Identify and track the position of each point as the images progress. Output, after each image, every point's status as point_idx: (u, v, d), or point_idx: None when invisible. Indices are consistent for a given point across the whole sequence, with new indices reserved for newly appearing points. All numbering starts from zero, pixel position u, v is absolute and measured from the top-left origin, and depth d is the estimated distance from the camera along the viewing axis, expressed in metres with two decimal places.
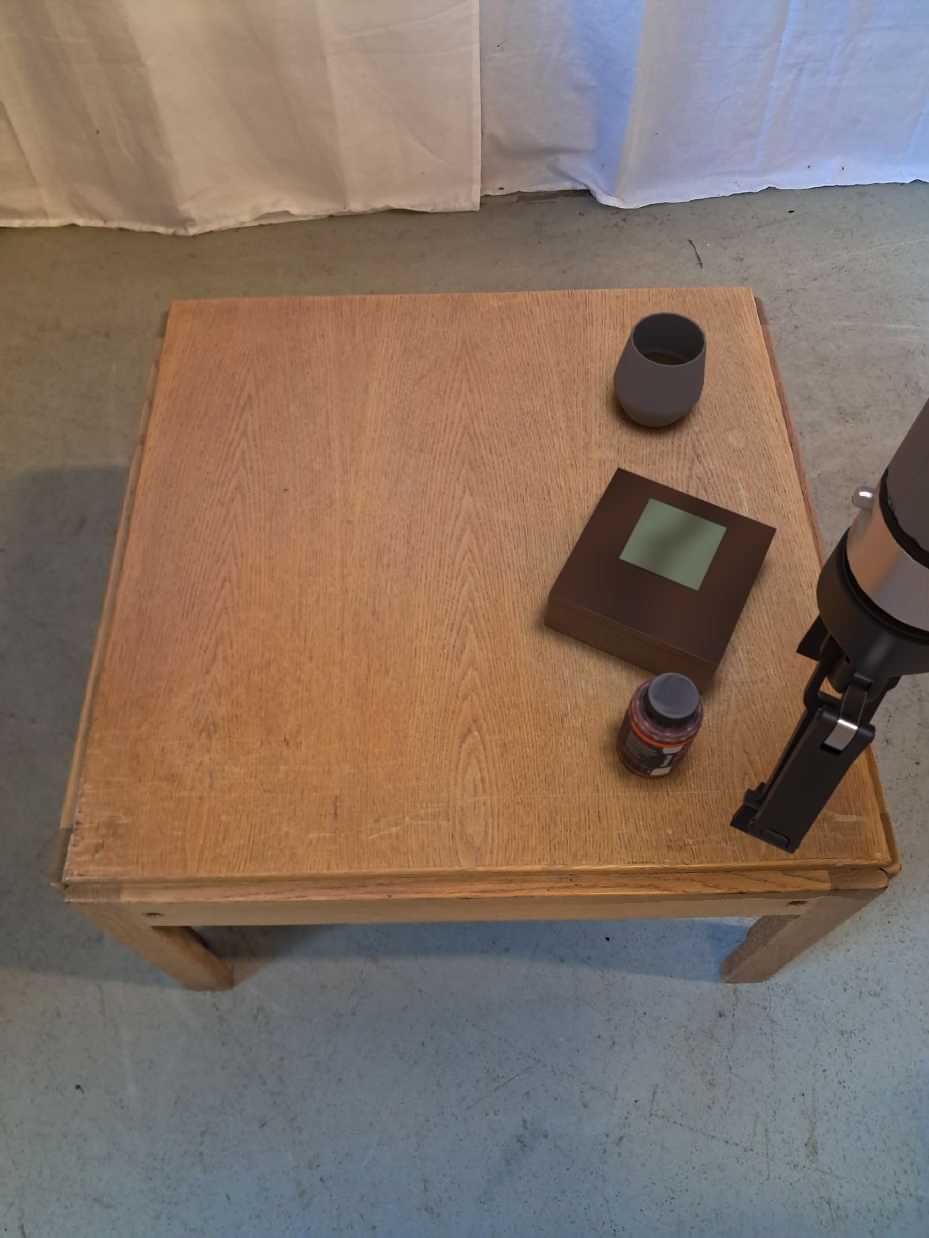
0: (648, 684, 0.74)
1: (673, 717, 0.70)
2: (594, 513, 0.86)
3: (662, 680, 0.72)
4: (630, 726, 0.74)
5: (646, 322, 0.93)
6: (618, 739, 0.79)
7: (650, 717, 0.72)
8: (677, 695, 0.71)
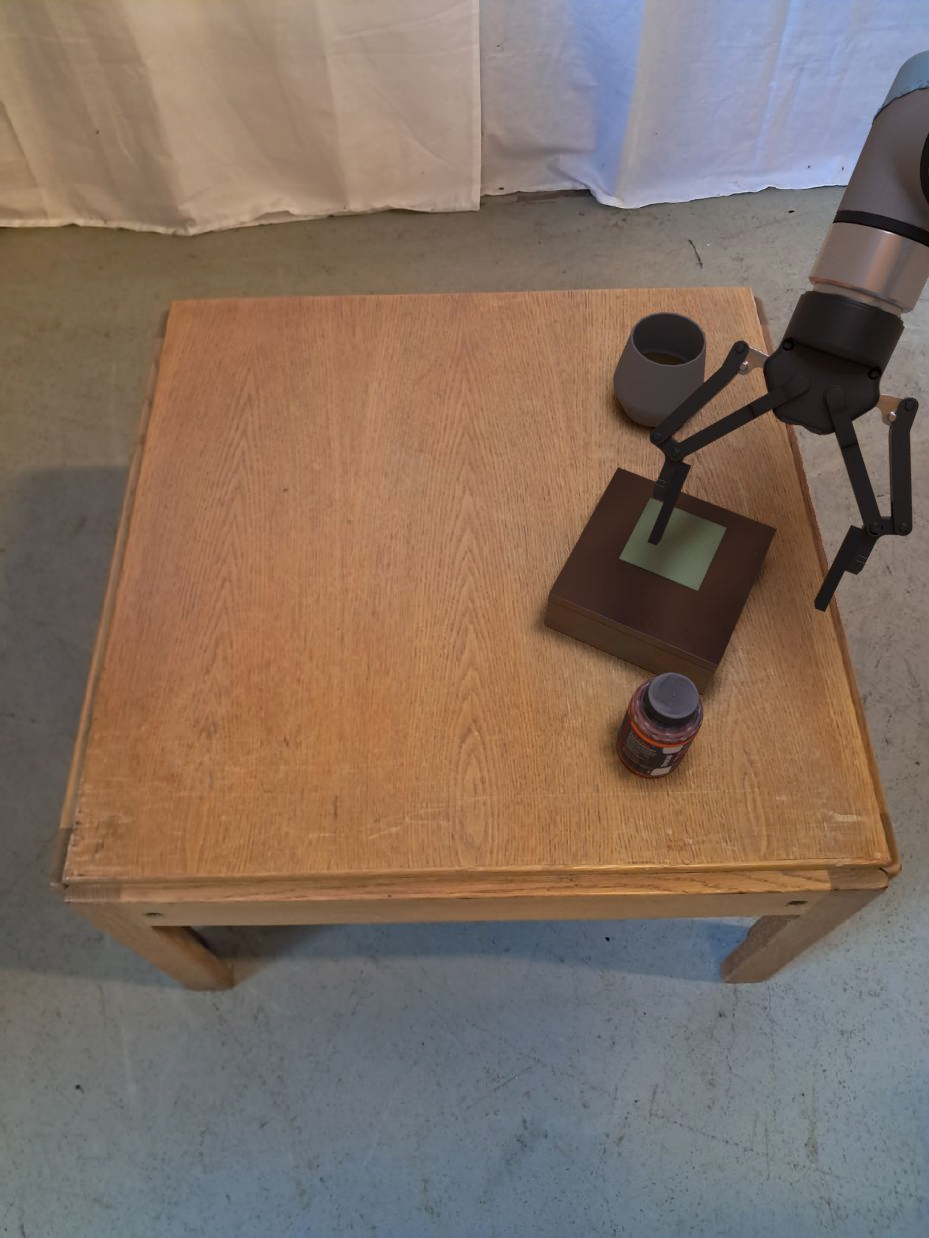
0: (648, 684, 0.74)
1: (673, 717, 0.70)
2: (594, 513, 0.86)
3: (662, 680, 0.72)
4: (630, 726, 0.74)
5: (646, 322, 0.93)
6: (618, 739, 0.79)
7: (650, 717, 0.72)
8: (677, 695, 0.71)
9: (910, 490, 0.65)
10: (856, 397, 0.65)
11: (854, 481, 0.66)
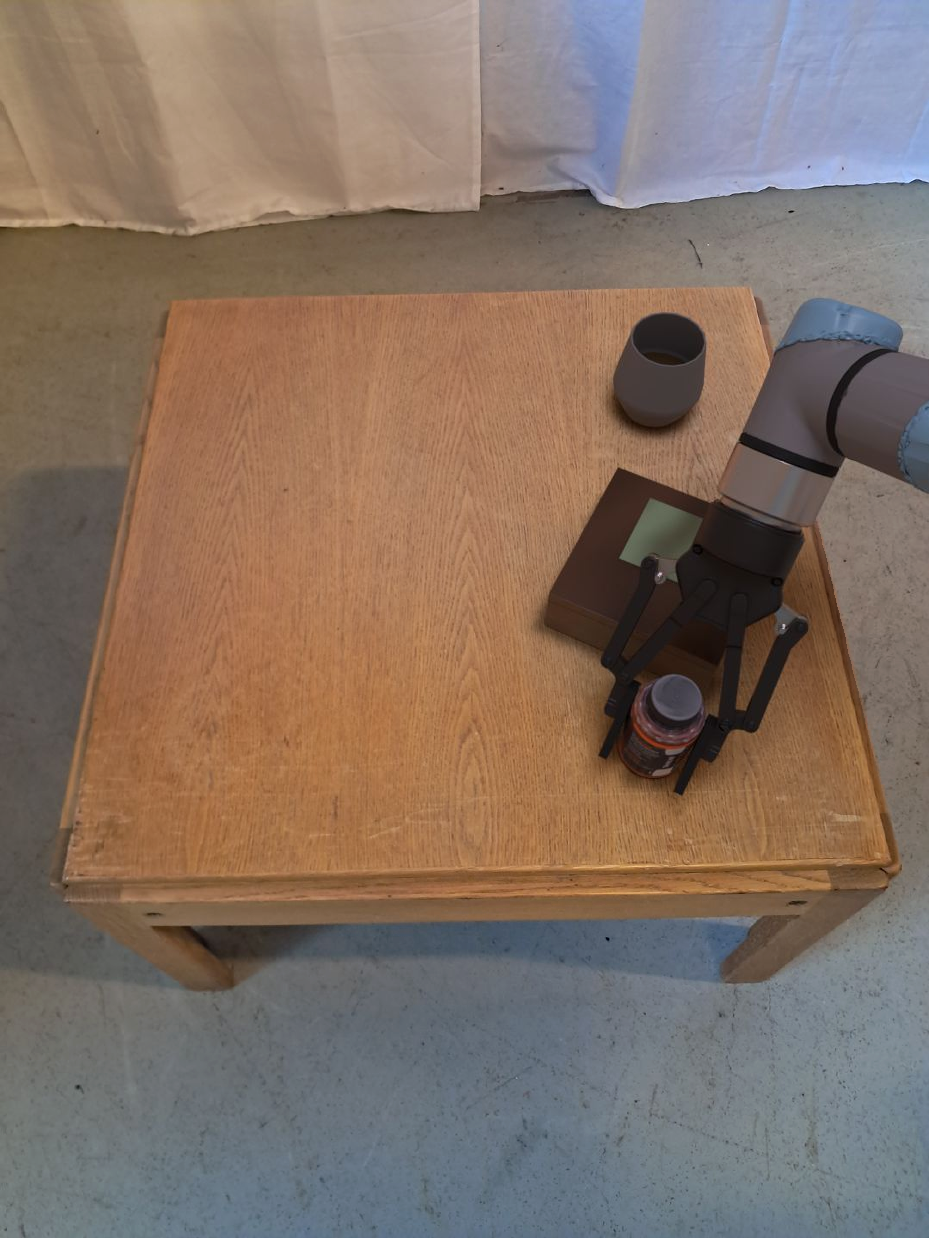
0: (651, 685, 0.74)
1: (676, 719, 0.70)
2: (594, 513, 0.86)
3: (665, 682, 0.71)
4: (632, 727, 0.74)
5: (646, 322, 0.93)
6: (619, 740, 0.79)
7: (653, 719, 0.72)
8: (680, 697, 0.71)
9: (769, 697, 0.70)
10: (760, 599, 0.69)
11: (725, 677, 0.71)
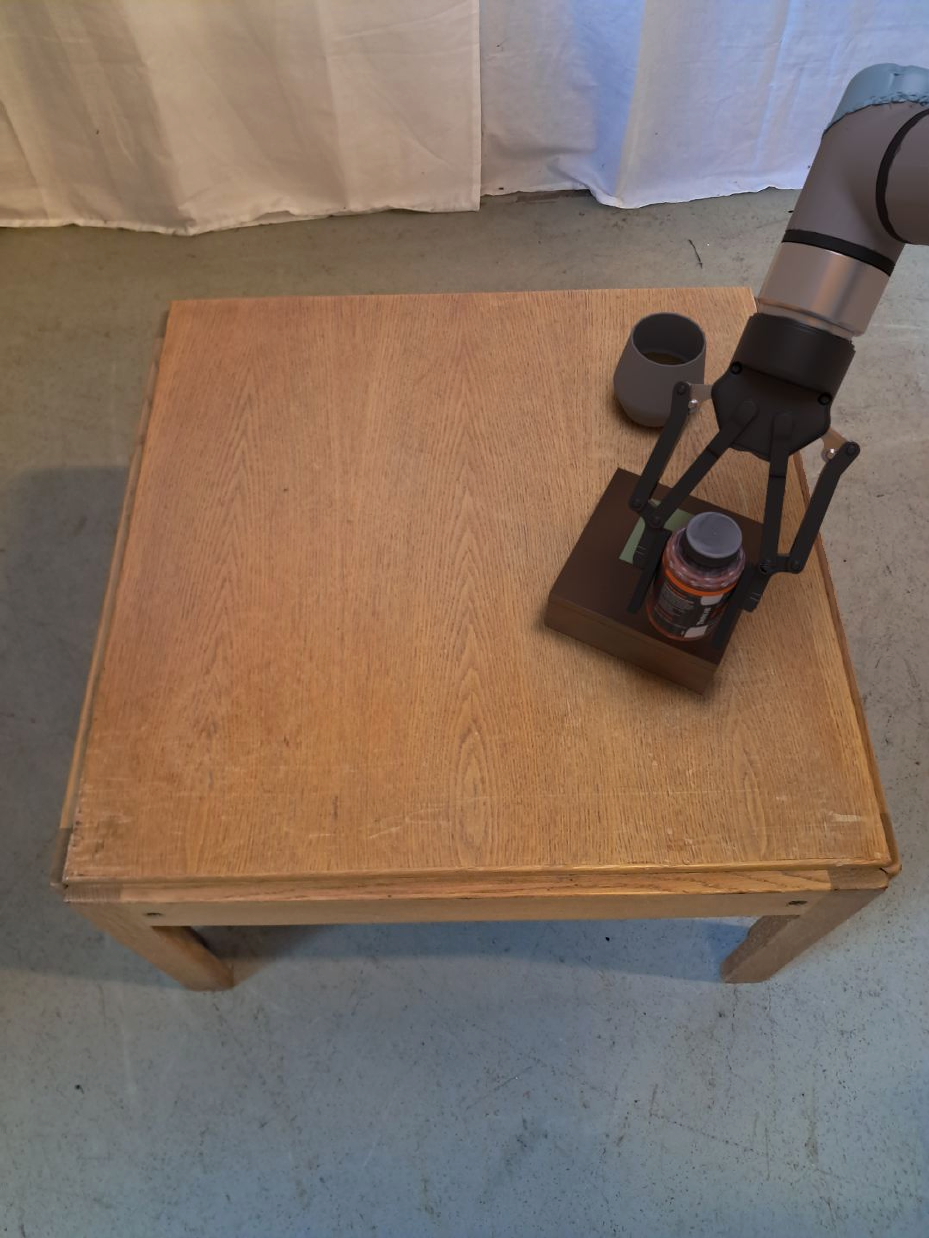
0: (684, 529, 0.67)
1: (714, 556, 0.64)
2: (594, 513, 0.86)
3: (701, 519, 0.65)
4: (664, 576, 0.68)
5: (646, 322, 0.93)
6: (648, 600, 0.73)
7: (688, 561, 0.65)
8: (718, 535, 0.64)
9: (817, 532, 0.64)
10: (806, 421, 0.63)
11: (767, 512, 0.65)
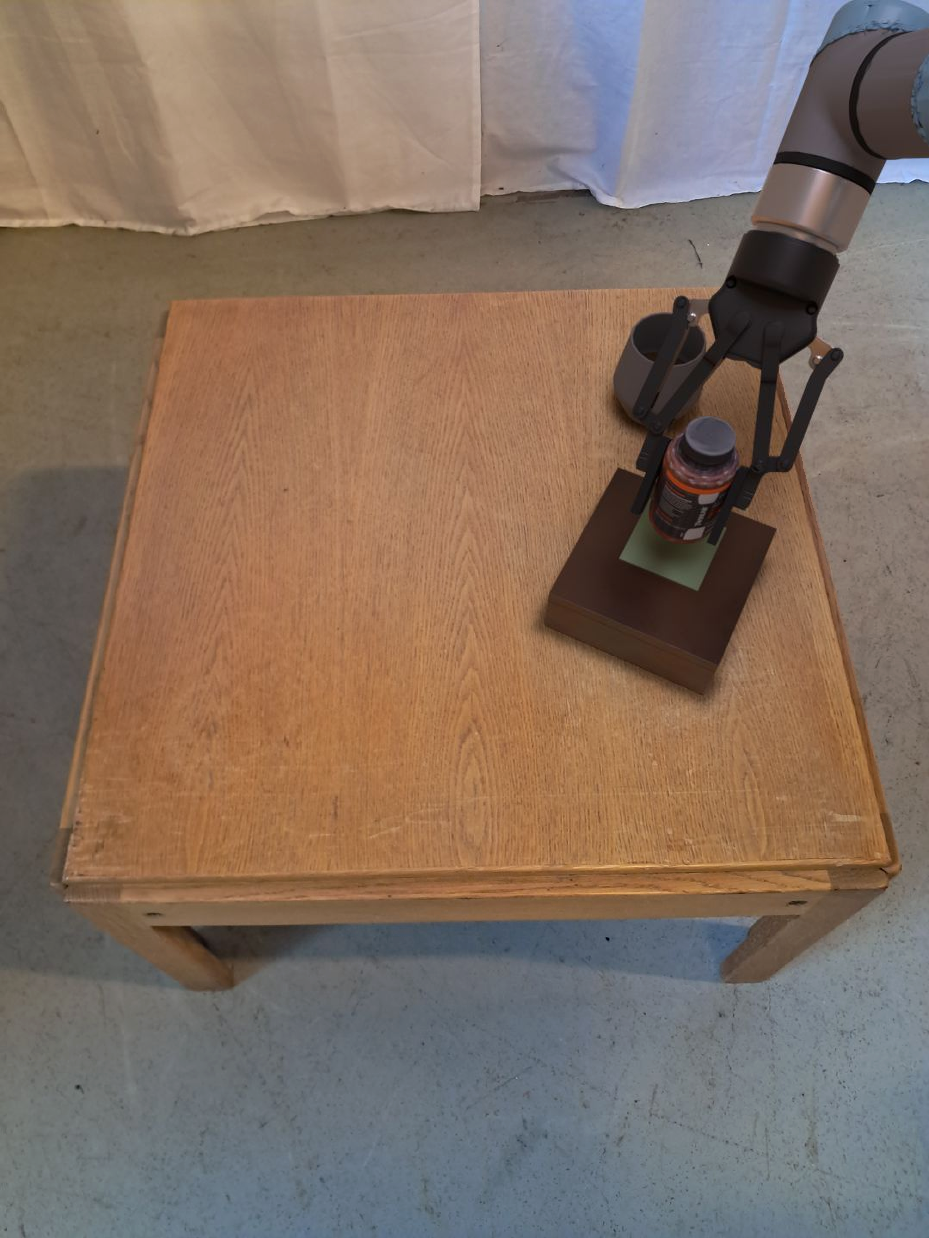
0: (683, 434, 0.73)
1: (710, 454, 0.70)
2: (594, 513, 0.86)
3: (699, 422, 0.71)
4: (665, 478, 0.74)
5: (646, 322, 0.93)
6: (650, 507, 0.79)
7: (687, 460, 0.71)
8: (714, 436, 0.70)
9: (804, 433, 0.70)
10: (795, 330, 0.69)
11: (759, 416, 0.71)
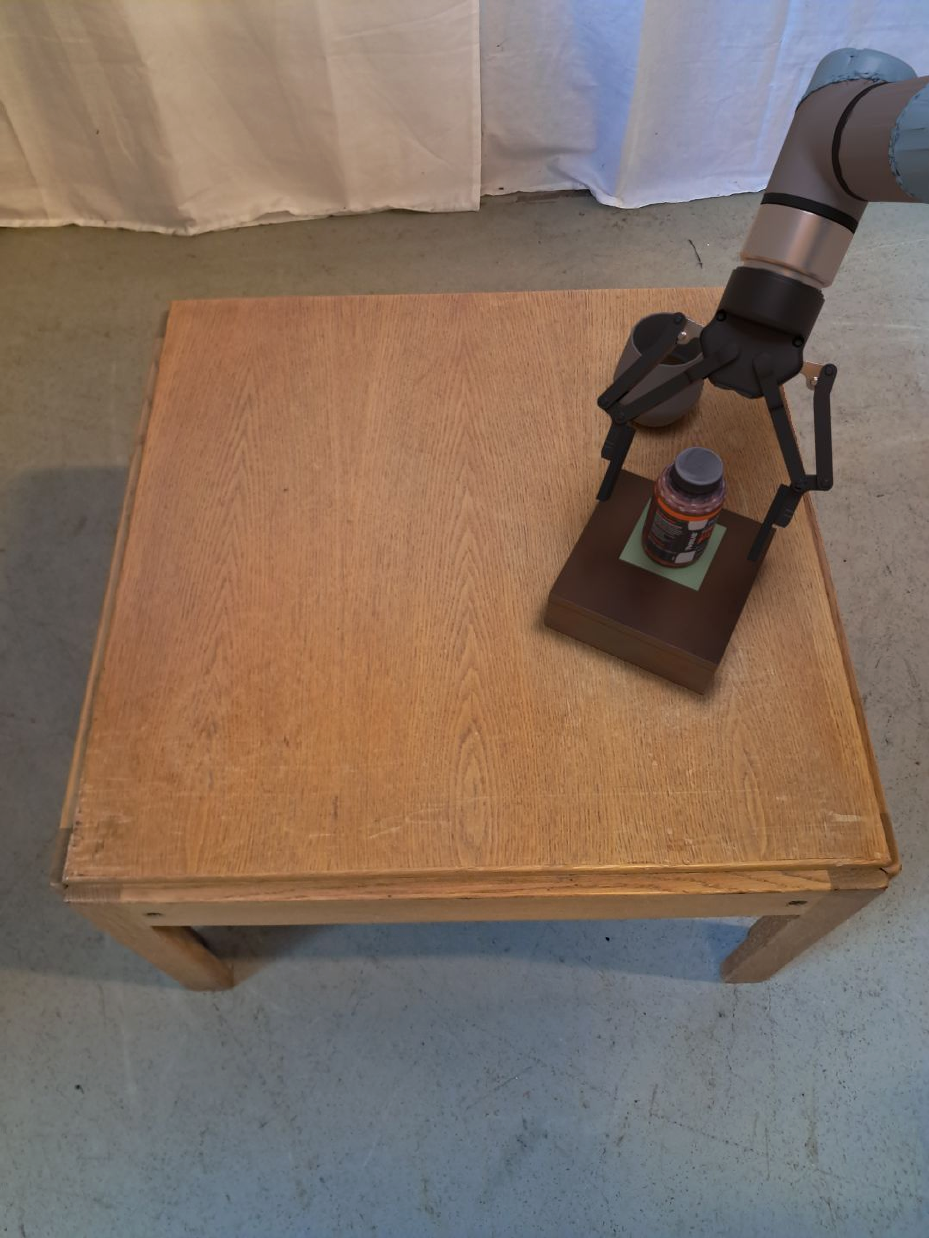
0: (673, 463, 0.77)
1: (699, 484, 0.73)
2: (594, 513, 0.86)
3: (688, 453, 0.75)
4: (656, 505, 0.77)
5: (646, 322, 0.93)
6: (643, 531, 0.82)
7: (677, 489, 0.75)
8: (702, 465, 0.74)
9: (831, 449, 0.72)
10: (782, 363, 0.72)
11: (780, 441, 0.73)
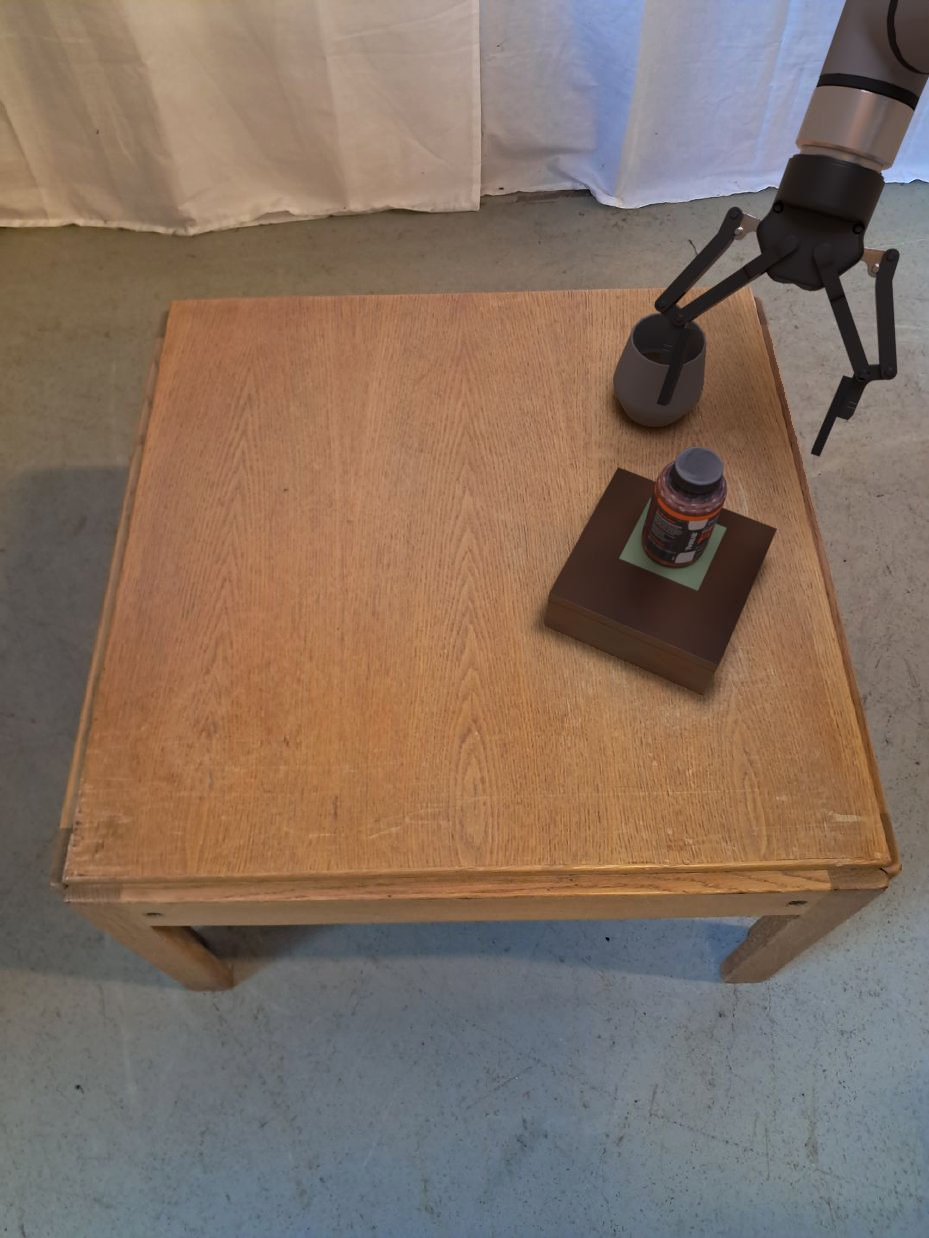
0: (674, 463, 0.77)
1: (699, 484, 0.73)
2: (594, 513, 0.86)
3: (688, 453, 0.75)
4: (656, 505, 0.77)
5: (646, 322, 0.93)
6: (643, 531, 0.82)
7: (677, 489, 0.75)
8: (702, 465, 0.74)
9: (894, 336, 0.71)
10: (842, 252, 0.71)
11: (842, 331, 0.73)
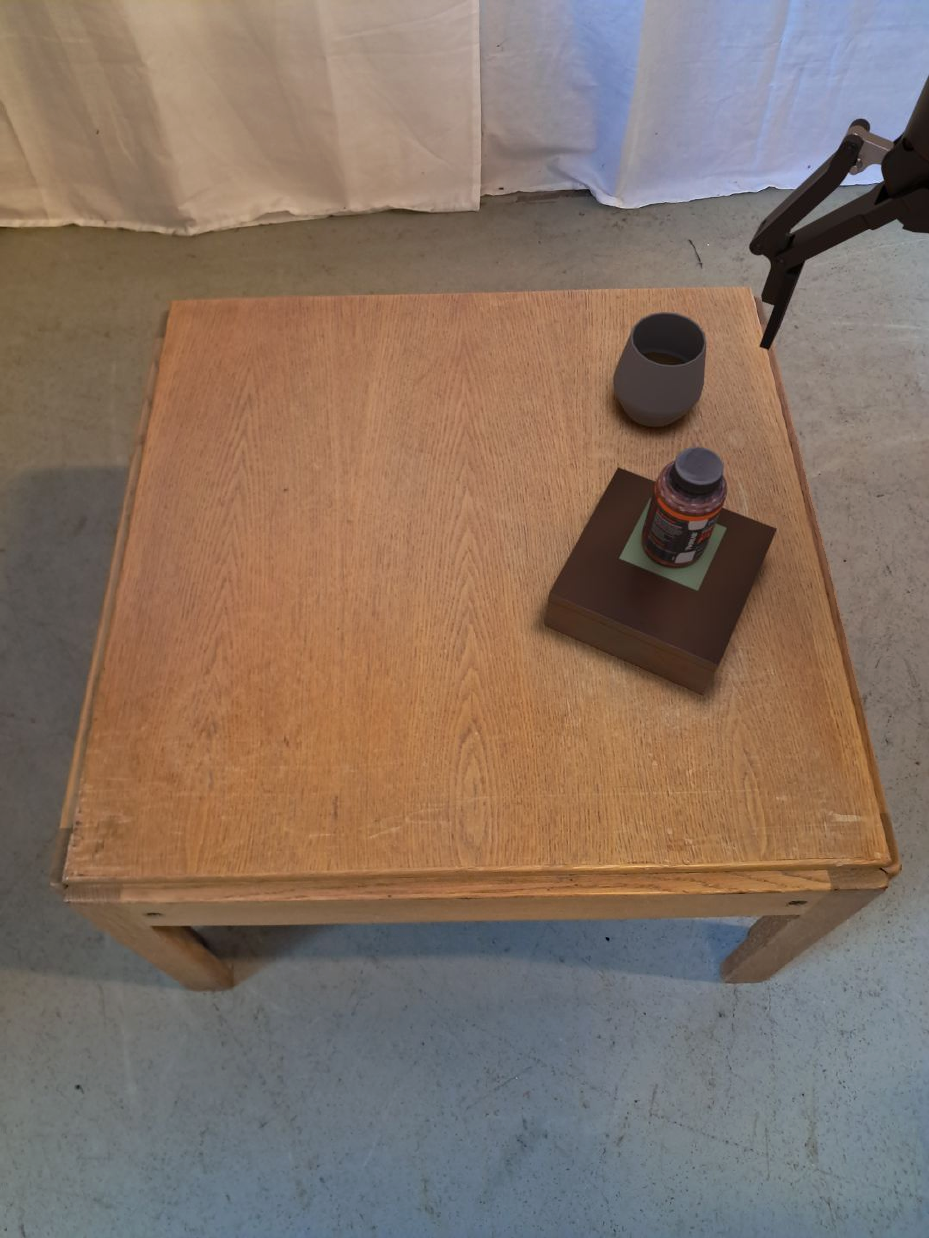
0: (674, 463, 0.77)
1: (699, 483, 0.73)
2: (594, 513, 0.86)
3: (688, 453, 0.75)
4: (656, 505, 0.77)
5: (646, 322, 0.93)
6: (643, 531, 0.82)
7: (676, 489, 0.75)
8: (702, 465, 0.74)
9: None
10: None
11: None
